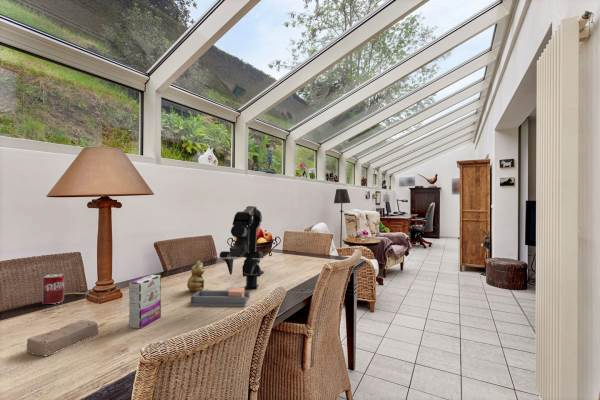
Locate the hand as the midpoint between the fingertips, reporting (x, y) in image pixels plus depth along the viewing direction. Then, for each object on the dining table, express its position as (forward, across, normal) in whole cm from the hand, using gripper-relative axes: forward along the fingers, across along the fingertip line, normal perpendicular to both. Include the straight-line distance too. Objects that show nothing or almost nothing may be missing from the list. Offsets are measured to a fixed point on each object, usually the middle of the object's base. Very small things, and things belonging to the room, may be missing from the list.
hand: (240, 274), depth 127 cm
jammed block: (+11, -3, +5) cm, 13 cm away
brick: (+20, -41, -40) cm, 61 cm away
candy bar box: (+17, -28, -22) cm, 39 cm away
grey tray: (+12, -10, +4) cm, 17 cm away
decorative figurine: (+10, -30, +16) cm, 35 cm away
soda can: (+14, -81, -13) cm, 83 cm away
